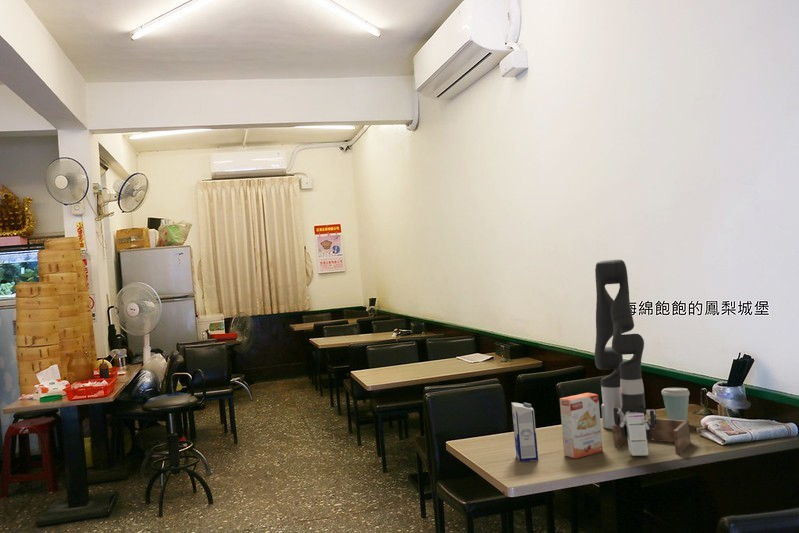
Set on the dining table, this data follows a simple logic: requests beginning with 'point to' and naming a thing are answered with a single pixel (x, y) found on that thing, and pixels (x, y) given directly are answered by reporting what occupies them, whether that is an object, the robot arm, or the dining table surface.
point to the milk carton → (524, 432)
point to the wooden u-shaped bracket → (663, 433)
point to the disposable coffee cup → (676, 403)
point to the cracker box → (581, 425)
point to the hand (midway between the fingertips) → (636, 438)
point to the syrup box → (636, 434)
